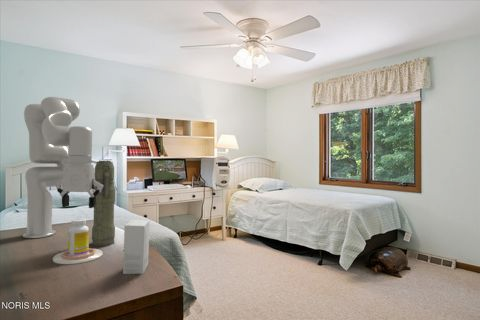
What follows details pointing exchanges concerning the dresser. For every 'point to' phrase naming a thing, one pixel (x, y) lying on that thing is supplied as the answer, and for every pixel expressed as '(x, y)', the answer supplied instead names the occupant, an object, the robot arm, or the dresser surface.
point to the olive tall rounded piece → (104, 205)
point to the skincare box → (136, 247)
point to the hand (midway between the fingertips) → (78, 207)
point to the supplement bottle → (78, 238)
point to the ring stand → (77, 257)
